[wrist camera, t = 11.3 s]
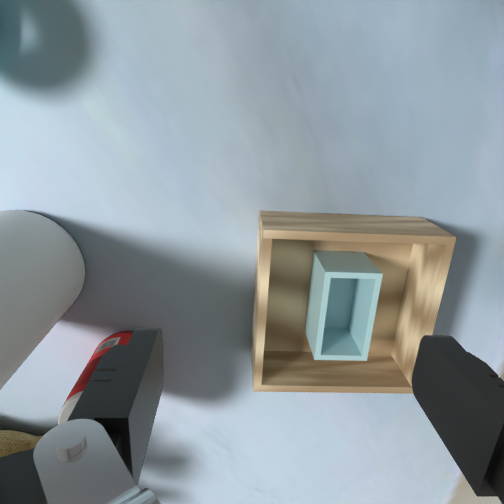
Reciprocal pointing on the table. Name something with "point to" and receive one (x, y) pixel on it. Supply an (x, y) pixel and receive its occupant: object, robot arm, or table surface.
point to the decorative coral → (16, 442)
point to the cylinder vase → (33, 283)
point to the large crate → (388, 307)
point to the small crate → (341, 305)
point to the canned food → (91, 372)
